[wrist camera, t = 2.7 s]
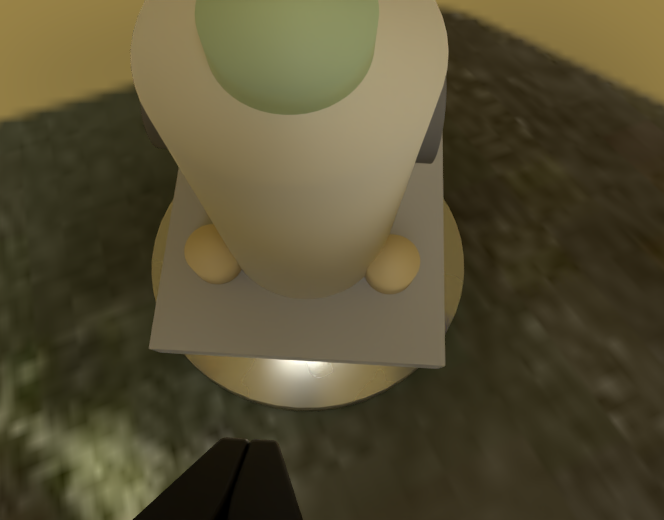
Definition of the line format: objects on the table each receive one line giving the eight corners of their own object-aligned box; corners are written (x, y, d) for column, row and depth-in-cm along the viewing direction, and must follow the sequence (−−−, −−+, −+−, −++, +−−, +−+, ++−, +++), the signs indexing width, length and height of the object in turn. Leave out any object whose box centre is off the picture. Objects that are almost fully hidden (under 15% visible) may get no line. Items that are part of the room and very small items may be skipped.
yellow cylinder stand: (437, 368, 17) (606, 308, 7) (160, 352, 18) (-89, 266, 7) (435, 126, 20) (552, -175, 10) (198, 112, 20) (63, -201, 10)
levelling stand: (470, 421, 18) (486, 412, 16) (123, 400, 18) (102, 389, 16) (450, 148, 24) (460, 119, 22) (188, 133, 24) (178, 104, 22)
